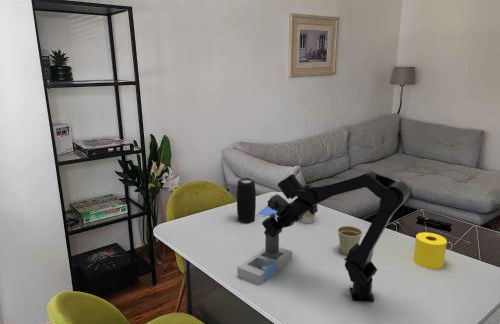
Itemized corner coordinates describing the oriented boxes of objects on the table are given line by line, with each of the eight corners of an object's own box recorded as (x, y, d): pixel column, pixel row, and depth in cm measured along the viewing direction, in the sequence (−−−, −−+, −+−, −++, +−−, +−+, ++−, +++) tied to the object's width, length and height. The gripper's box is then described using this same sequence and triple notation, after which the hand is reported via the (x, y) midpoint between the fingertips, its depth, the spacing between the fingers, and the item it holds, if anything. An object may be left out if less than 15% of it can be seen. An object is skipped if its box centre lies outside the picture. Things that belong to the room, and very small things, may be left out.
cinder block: (292, 259, 140) (293, 248, 139) (260, 285, 124) (260, 273, 123) (271, 252, 146) (271, 241, 145) (237, 276, 129) (237, 264, 128)
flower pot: (362, 258, 141) (363, 237, 139) (336, 256, 143) (337, 235, 141) (360, 247, 150) (361, 226, 148) (335, 244, 152) (337, 225, 150)
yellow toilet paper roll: (437, 255, 143) (440, 232, 141) (448, 269, 133) (451, 245, 131) (409, 254, 144) (412, 232, 142) (418, 268, 134) (421, 244, 132)
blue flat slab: (279, 221, 176) (279, 218, 176) (255, 216, 182) (255, 213, 181) (294, 207, 193) (294, 205, 193) (271, 203, 198) (271, 201, 198)
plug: (278, 254, 134) (278, 217, 131) (264, 253, 135) (265, 216, 131) (278, 247, 139) (279, 212, 135) (265, 247, 139) (266, 211, 136)
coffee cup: (292, 219, 177) (293, 188, 174) (309, 215, 181) (311, 185, 178) (303, 226, 169) (304, 195, 165) (321, 223, 173) (323, 192, 169)
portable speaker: (236, 224, 172) (236, 183, 167) (237, 216, 181) (237, 177, 176) (255, 224, 171) (255, 183, 167) (255, 216, 181) (255, 177, 176)
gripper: (296, 183, 136) (270, 205, 145) (267, 197, 121) (240, 221, 130) (315, 208, 133) (287, 229, 142) (287, 226, 119) (259, 248, 128)
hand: (269, 231), depth 136 cm, fingers closed on plug, 5 cm apart
